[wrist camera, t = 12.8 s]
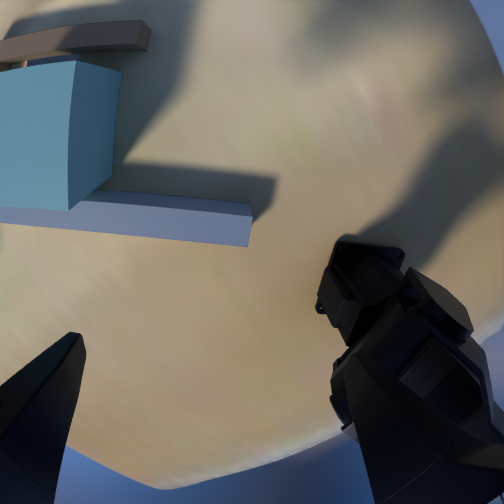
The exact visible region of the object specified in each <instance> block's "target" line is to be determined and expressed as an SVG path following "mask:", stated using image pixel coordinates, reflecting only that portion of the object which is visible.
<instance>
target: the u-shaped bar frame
mask: <svg viewBox="0 0 504 504" xmlns="http://www.w3.org/2000/svg"><path fill="white" fill-rule="evenodd" d="M149 35H150V28H149V27H148V26H147V25H146V24H145V23H144V22H143V21H142V20H131V21H111V22H99V23H89V24H80V25H73V26H66V27H59V28H54V29H48V30H43V31H38V32H33V33H29V34H24V35H20V36H16V37H12V38H9V39H5V40H1V41H0V72H4V71H8V70H10V67H11V64H12V63H17V62H22V61H27V60H33V59H39V58H45V57H52V56H59V55H68V54H78V53H90V52H106V51H147V45H148V40H149ZM252 220H253V216H252V212H251V209H250V206H249V204H245V203H236V202H228V201H219V200H210V199H201V198H191V197H181V196H171V195H160V194H148V193H137V192H124V191H110V190H94V191H92V192H91V193H90V194H89V195H87V196H86V197H85V198H84V199H82V200H81V201H80V202H79V203H78V204H76V205H75V206H74V207H73V208H72V209H71V210H69V211H61V210H47V209H33V208H18V207H2V206H0V223H9V224H19V225H30V226H40V227H51V228H61V229H71V230H82V231H92V232H102V233H112V234H122V235H132V236H142V237H152V238H162V239H172V240H182V241H192V242H202V243H212V244H221V245H231V246H241V247H248V242H249V237H250V231H251V225H252Z"/></svg>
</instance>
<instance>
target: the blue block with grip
mask: <svg viewBox="0 0 504 504" xmlns="http://www.w3.org/2000/svg"><path fill="white" fill-rule="evenodd" d="M121 75H122V72H119V71H115V70H112V69H108V68H104V67H101V66H97V65H93V64H89V63H85V62H81V61H80V55H77V54H68V55H59V56H52V57H45V58H39V59H33V60H28V61H27V67H24V68H18V69H13V70H8V71H4V72H0V206H2V207H18V208H33V209H47V210H61V211H69V210H71V209H72V208H73V207H74V206H75V205H76V204H78V203H79V202H80V201H81V200H82V199H84V198H85V197H86V196H87V195H89V194H90V193H91V192H92V191H94V190H95V189H96V188H97V187H99V186H100V185H101V184H102V183H104V182H105V181H106V180H108V179H109V178H110V177H112V171H113V151H114V137H115V125H116V114H117V105H118V97H119V89H120V82H121Z"/></svg>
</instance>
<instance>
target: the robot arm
mask: <svg viewBox="0 0 504 504" xmlns="http://www.w3.org/2000/svg"><path fill="white" fill-rule="evenodd" d="M341 246H343V248H342V249H341V250H339V247H341ZM398 254H400V255H399V256H398ZM397 256H398V257H397ZM404 257H405V253H404V251H403V250H402V249H400V248H393V247H385V246H378V245H371V244H363V243H355V242H348V241H338V242H336V243H335V245H334V248H333V251H332V255H331V258H330V261H329V265H328V266H327V267H326V268H325V270H324V274H323V277H322V280H321V283H320V287H319V290H318V293H317V295H318V299H317V302H316V305H315V309H316V311H317V313H318V314H327V316H328V319H329V321H330V323H331V325H332V326H333V327H334V328H338V330H339V332H340V334H341V336H342V338H343V340H344V342H345V344H346V346H348V347H349V348H348V349H347V350H346V352H345V353H344V354H343V355H342V356H341V357H340V358H338V359H337V360H336V361H335V362H334V363H333V373H332V377H331V380H330V383H331V390H332V395H331V396H330V397H329V398H330V402H331V404H332V406H333V409H334V411H335V412H336V414H337V416H338V418H339V419H340V420H341V421H342V423H343V424H344V425H343V426H342V427H341V430H342V431H343V432H344V433H346V434H347V435H349V436H350V437H352V438H353V439H355V440H356V441H357V442H358V443H359V444H360V447H361V451H362V455H363V458H364V462H365V466H366V470H367V474H368V478H369V482H370V486H371V489H372V494H373V498H374V502H375V504H504V412H503V411H502V409H501V408H500V407H499V406H498V405H497V404H496V402H494V399H493V393H492V386H491V380H490V375H489V369H488V364H487V359H486V354H485V352H484V350H483V349H482V348H481V347H480V346H479V345H478V344H477V342H476V341H475V340H474V339H473V338H472V337H471V336H470V335H471V334H472V332H473V331H474V329H473V326H472V323H471V320H470V318H469V315H468V312H467V309H466V307H465V306H464V305H463V304H462V303H461V302H460V301H459V300H457V299H456V298H455V297H454V296H453V295H452V294H451V293H450V292H449V291H448V290H447V289H445V288H444V287H442V286H441V285H439V284H438V283H436V282H434V281H433V280H431V279H430V278H428V277H426V276H425V275H423V274H421V273H420V272H418V271H416V270H415V269H413V268H411V267H409V269H408V270H407V271H406V273H405V274H406V276H405V275H404V274H403V273H402V272H401V271H400V267H401V265H402V262H403V259H404ZM321 307H323V308H322V309H320V308H321ZM85 361H86V349H85V345H84V341H83V337H82V335H81V334H80V333H75V332H69V333H67V334H66V335H65V336H63V337H62V338H61V339H59V340H58V341H57V342H55V343H54V344H53V345H51V346H50V347H49V348H48V349H46V350H45V351H44V352H42V353H41V354H40V355H38V356H37V357H36V358H35V359H33V360H32V361H31V362H30V363H28V364H27V365H26V366H24V367H23V368H22V369H21V370H19V371H18V372H17V373H16V374H14V375H13V376H12V377H11V378H9V379H8V380H7V381H6V382H5V383H3V384H2V385H1V386H0V504H54V503H53V502H54V499H55V493H56V487H57V482H58V477H59V472H60V467H61V463H62V458H63V454H64V449H65V445H66V441H67V437H68V433H69V429H70V426H71V422H72V418H73V415H74V411H75V408H76V404H77V401H78V397H79V392H80V386H81V381H82V375H83V370H84V365H85Z"/></svg>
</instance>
